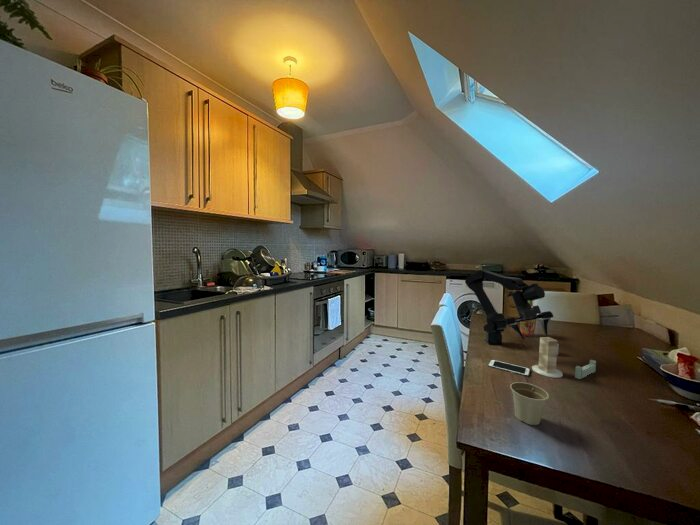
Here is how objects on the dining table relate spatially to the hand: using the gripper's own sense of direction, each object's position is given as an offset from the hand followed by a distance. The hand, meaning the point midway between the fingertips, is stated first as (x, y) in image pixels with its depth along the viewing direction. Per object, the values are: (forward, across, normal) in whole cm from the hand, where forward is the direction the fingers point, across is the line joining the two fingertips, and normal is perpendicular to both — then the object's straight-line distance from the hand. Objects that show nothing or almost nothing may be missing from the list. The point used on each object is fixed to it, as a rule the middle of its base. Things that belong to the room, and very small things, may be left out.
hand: (534, 337), depth 118 cm
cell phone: (+11, -16, -10) cm, 22 cm away
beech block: (+13, -2, -8) cm, 15 cm away
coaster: (+13, -2, -8) cm, 16 cm away
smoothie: (-2, +5, +38) cm, 39 cm away
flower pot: (+22, -18, -44) cm, 52 cm away
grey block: (+8, +7, +14) cm, 18 cm away
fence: (+16, +11, -4) cm, 20 cm away
